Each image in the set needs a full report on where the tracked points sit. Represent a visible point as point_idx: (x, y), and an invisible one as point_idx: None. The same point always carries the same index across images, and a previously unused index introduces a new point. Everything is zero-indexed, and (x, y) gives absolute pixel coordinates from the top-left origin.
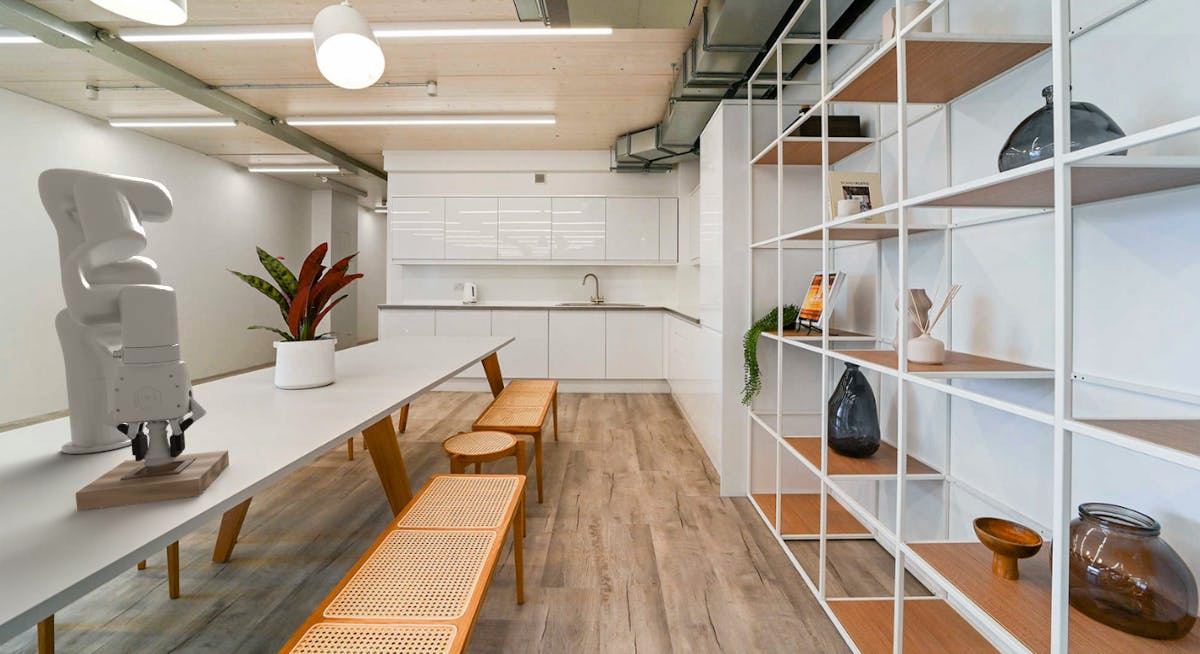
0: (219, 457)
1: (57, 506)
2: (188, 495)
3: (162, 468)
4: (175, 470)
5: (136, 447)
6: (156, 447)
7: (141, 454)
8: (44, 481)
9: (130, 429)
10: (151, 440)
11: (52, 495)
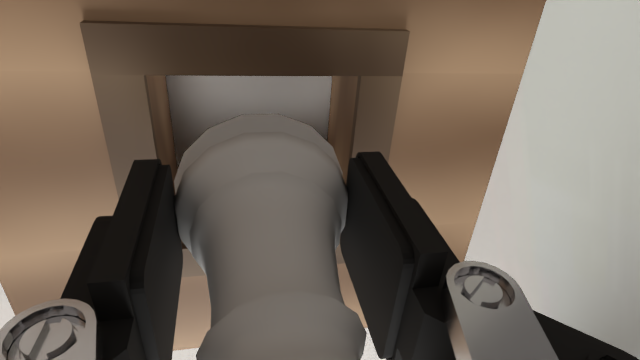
0: (4, 273)
1: (584, 3)
2: None
3: None
4: (130, 74)
5: (403, 205)
6: (265, 210)
7: (358, 184)
8: (615, 279)
9: (531, 347)
10: (312, 263)
11: (599, 148)
